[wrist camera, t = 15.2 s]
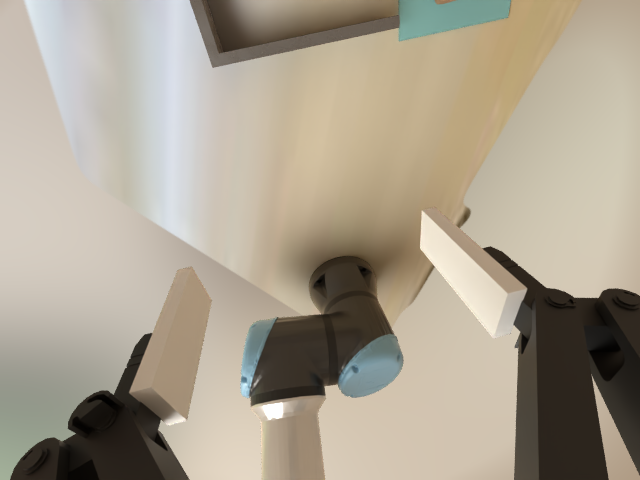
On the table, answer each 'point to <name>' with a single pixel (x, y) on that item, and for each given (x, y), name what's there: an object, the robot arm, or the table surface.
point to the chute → (220, 58)
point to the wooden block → (443, 1)
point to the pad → (446, 15)
